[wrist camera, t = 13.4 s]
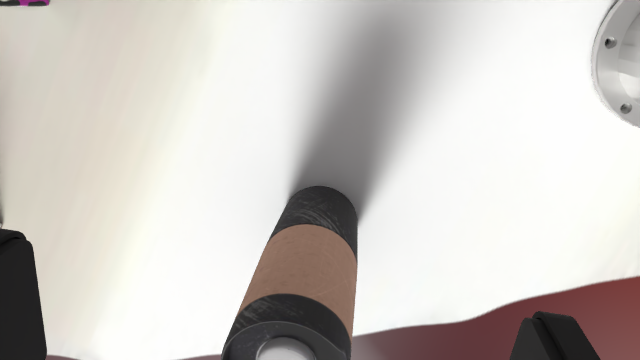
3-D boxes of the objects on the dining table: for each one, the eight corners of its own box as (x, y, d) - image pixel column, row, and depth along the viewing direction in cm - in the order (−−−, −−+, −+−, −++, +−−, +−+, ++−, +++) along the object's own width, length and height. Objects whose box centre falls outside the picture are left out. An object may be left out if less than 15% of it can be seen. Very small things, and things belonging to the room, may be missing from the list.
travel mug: (266, 225, 46) (193, 379, 27) (310, 167, 43) (263, 293, 25) (329, 268, 47) (300, 444, 28) (376, 213, 44) (378, 369, 26)
